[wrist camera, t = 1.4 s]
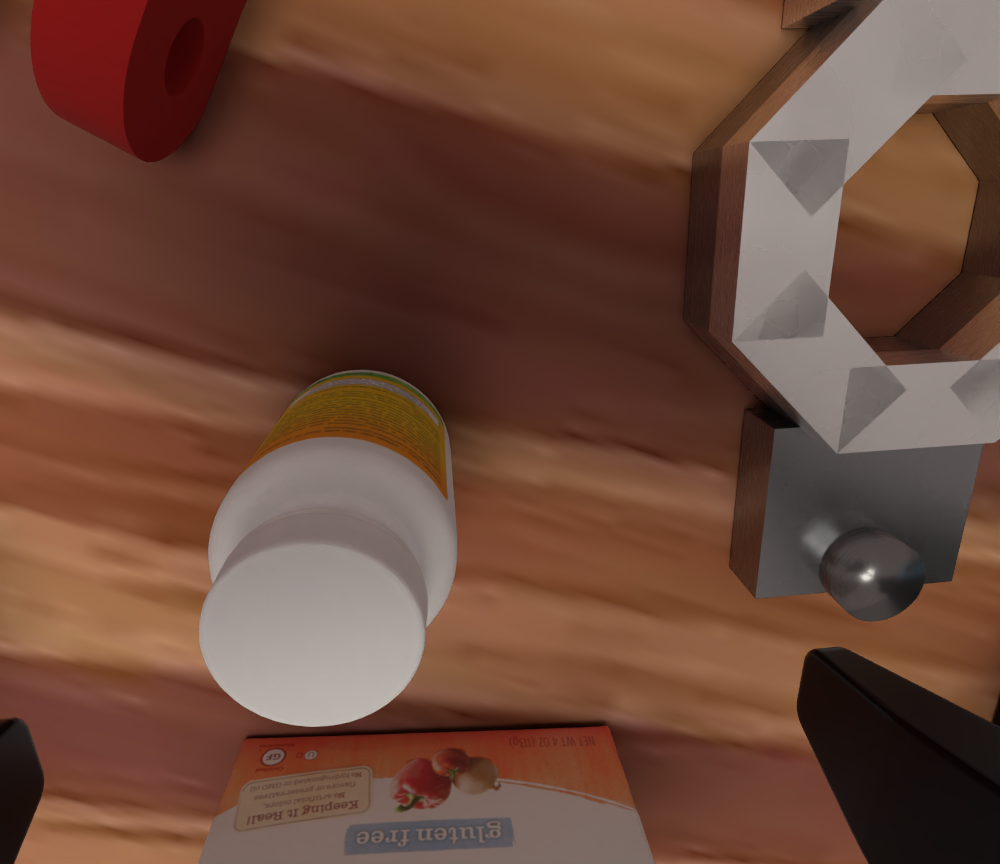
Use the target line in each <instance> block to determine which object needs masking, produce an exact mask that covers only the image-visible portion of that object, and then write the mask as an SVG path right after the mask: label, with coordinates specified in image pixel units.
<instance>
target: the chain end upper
mask: <svg viewBox="0 0 1000 864" xmlns="http://www.w3.org/2000/svg"><path fill="white" fill-rule="evenodd" d="M853 7H854V8H853ZM851 8H853V9H852V10H851V11H850V12H849V13H848V14H847V15H846V16H845V17H844V18H843V19H842V20H841V22H840V23H839V24H838V25H837V26H836V27H835V28H834V29H833V30H832V31H831V32H830V33H829V34H828V35H827V36H826V38H825V39H824V40H823V41H822V42H821V43H820V44H819V45H818V46H817V47H816V48H815V49H814V50H813V51H812V52H811V54H810V55H809V56H808V57H807V58H806V59H805V60H804V61H803V62H802V63H801V64H800V65H799V66H798V67H797V68H796V70H795V71H794V72H793V73H792V74H791V75H790V76H789V77H788V78H787V79H786V80H785V81H784V82H783V83H782V84H781V86H780V87H779V88H778V89H777V90H776V91H775V92H774V93H773V94H772V95H771V96H770V97H769V98H768V99H767V100H766V102H765V103H764V104H763V105H762V106H761V107H760V108H759V109H758V110H757V111H756V112H755V113H754V114H753V115H752V117H751V118H750V119H749V120H748V121H747V122H746V123H745V124H744V125H743V126H742V127H741V128H740V129H739V130H738V131H737V133H736V134H735V135H734V136H733V137H732V138H731V139H730V140H729V141H728V142H727V143H726V144H725V145H724V146H723V150H722V163H721V177H720V190H719V204H718V217H717V230H716V244H715V257H714V271H713V284H712V297H711V311H710V324H709V332H710V333H711V334H712V335H713V336H714V337H715V338H716V339H717V340H718V342H719V343H720V344H721V345H722V346H723V347H724V348H725V349H726V350H727V351H728V352H729V353H730V354H731V355H732V356H733V357H734V358H735V359H736V361H737V362H738V363H739V364H740V365H741V366H742V367H743V368H744V369H745V370H746V371H747V372H748V373H749V374H750V375H751V376H752V377H753V378H754V380H755V381H756V382H757V383H758V384H759V385H760V386H761V387H762V388H763V389H764V390H765V391H766V392H767V393H768V394H769V395H770V396H771V397H772V398H773V400H774V401H775V402H776V403H777V404H778V405H779V406H780V407H781V408H782V409H783V410H784V411H785V412H786V413H787V414H788V415H789V416H790V417H791V419H792V420H793V421H794V422H795V423H796V424H797V425H798V426H799V427H800V428H801V429H802V430H803V431H804V432H805V433H806V434H807V435H808V436H809V437H810V438H812V439H814V440H815V441H817V442H819V443H820V444H822V445H824V446H825V447H827V448H829V449H830V450H832V451H833V452H835V453H837V454H841V453H855V452H869V451H883V450H898V449H912V448H926V447H940V446H954V445H968V444H982V443H995V442H996V441H997V440H998V439H999V438H1000V294H999V295H998V296H997V297H996V298H995V299H993V300H992V301H991V302H990V303H989V304H988V305H987V306H986V307H985V308H984V309H983V310H981V311H980V312H979V313H978V314H977V315H976V316H975V317H974V318H973V319H972V320H971V321H970V322H968V323H967V324H966V325H965V326H964V327H963V328H962V329H961V330H960V331H959V332H958V333H956V334H955V335H954V336H953V337H952V338H951V339H950V340H949V341H948V342H947V343H946V344H944V345H943V346H942V347H941V348H940V349H931V350H913V351H896V352H879V353H875V352H874V351H873V350H872V348H871V347H870V346H869V345H868V344H867V342H866V341H865V340H864V339H863V338H862V337H861V335H860V334H859V333H858V332H857V331H856V329H855V328H854V327H853V326H852V325H851V324H850V322H849V321H848V320H847V319H846V318H845V316H844V315H843V314H842V313H841V312H840V311H839V309H838V308H837V307H836V306H835V305H834V304H833V302H832V301H831V300H830V299H829V298H828V296H829V288H830V281H831V273H832V266H833V259H834V251H835V244H836V236H837V229H838V221H839V214H840V206H841V199H842V192H843V185H844V184H845V183H846V182H847V181H848V180H849V179H850V178H851V177H852V176H853V175H854V174H855V173H856V172H857V171H858V170H859V169H860V168H861V167H862V166H863V165H864V164H865V163H866V162H867V161H868V160H869V159H870V158H871V157H872V156H873V155H874V154H875V153H876V152H877V150H878V149H879V148H880V147H881V146H882V145H883V144H884V143H885V142H886V141H887V140H888V139H889V138H890V137H891V136H892V135H893V134H894V133H895V132H896V131H897V130H898V129H899V128H900V127H901V126H902V125H903V124H904V123H905V122H906V121H907V120H908V119H909V118H910V117H911V116H912V115H913V114H914V113H915V112H916V111H917V110H918V109H919V108H920V107H921V106H922V105H923V104H942V103H983V102H988V103H989V105H990V106H991V108H992V109H993V111H994V112H995V114H996V115H997V117H998V118H999V120H1000V0H785V1H784V11H783V21H782V29H791V28H811V27H813V26H815V25H817V24H819V23H822V22H824V21H826V20H828V19H830V18H832V17H834V16H836V15H838V14H840V13H843V12H845V11H847V10H849V9H851Z"/></svg>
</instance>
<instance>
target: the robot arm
mask: <svg viewBox="0 0 1000 864" xmlns="http://www.w3.org/2000/svg"><path fill="white" fill-rule="evenodd" d="M797 712H798V717H799V720H800V723H801V726H802V728H803V730H804V732H805V734H806V736H807V738H808V740H809V743H810V745H811V747H812V749H813V751H814V753H815V755H816V757H817V759H818V762H819V764H820V766H821V768H822V770H823V772H824V774H825V776H826V778H827V781H828V783H829V785H830V787H831V789H832V791H833V793H834V795H835V797H836V800H837V802H838V804H839V806H840V808H841V810H842V812H843V814H844V816H845V819H846V821H847V823H848V825H849V827H850V829H851V831H852V833H853V835H854V837H855V839H856V841H857V843H858V845H859V847H860V849H861V851H862V853H863V854H864V856H865V858H866V860H867V861H868V863H869V864H1000V709H999V713H998V716H997V720H996V724H993V723H991V722H989V721H987V720H985V719H983V718H981V717H979V716H977V715H976V714H974V713H972V712H970V711H968V710H966V709H964V708H962V707H960V706H958V705H956V704H954V703H952V702H950V701H948V700H946V699H944V698H942V697H940V696H938V695H936V694H934V693H932V692H930V691H928V690H926V689H925V688H923V687H921V686H919V685H917V684H915V683H913V682H911V681H909V680H907V679H905V678H903V677H901V676H899V675H897V674H895V673H893V672H891V671H889V670H887V669H885V668H883V667H881V666H879V665H877V664H875V663H873V662H872V661H870V660H868V659H866V658H864V657H862V656H860V655H858V654H856V653H854V652H852V651H850V650H848V649H846V648H842V647H831V648H819V649H813V650H811V651H809V652H808V653H807V655H806V656H805V660H804V665H803V670H802V676H801V681H800V687H799V692H798V698H797ZM43 787H44V774H43V770H42V767H41V764H40V761H39V757H38V754H37V751H36V748H35V745H34V742H33V739H32V736H31V733H30V730H29V727H28V725H27V724H26V723H25V722H24V721H23V720H22V719H19V718H2V719H0V864H14V863H15V860H16V858H17V855H18V853H19V850H20V848H21V846H22V843H23V841H24V838H25V836H26V833H27V831H28V828H29V826H30V824H31V821H32V819H33V816H34V814H35V811H36V809H37V807H38V804H39V802H40V799H41V796H42V792H43Z"/></svg>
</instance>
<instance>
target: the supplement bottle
mask: <svg viewBox="0 0 1000 864" xmlns="http://www.w3.org/2000/svg"><path fill="white" fill-rule="evenodd" d="M457 550H458V539H457V524H456V511H455V498H454V484H453V468H452V456H451V450H450V442H449V436H448V433H447V429H446V426H445V423H444V421H443V419H442V417H441V415H440V414H439V412H438V411H437V409H436V408H435V406H434V405H433V404H432V402H431V401H430V400H429V399H428V398H427V397H426V396H425V395H424V394H423V393H422V392H421V391H420V390H418V389H417V388H416V387H414V386H413V385H412V384H410V383H408V382H407V381H405V380H403V379H401V378H398V377H396V376H394V375H391V374H388V373H384V372H379V371H372V370H350V371H343V372H339V373H335V374H332V375H329V376H327V377H324V378H322V379H320V380H318V381H316V382H315V383H313V384H312V385H310V386H309V387H307V388H306V389H305V390H304V391H302V392H301V393H300V394H299V395H298V396H297V397H296V398H295V399H294V400H293V402H292V403H291V404H290V405H289V406H288V408H287V409H286V410H285V412H284V413H283V415H282V416H281V418H280V419H279V421H278V422H277V423H276V425H275V426H274V428H273V429H272V431H271V432H270V434H269V435H268V436H267V438H266V439H265V441H264V442H263V443H262V445H261V446H260V447H259V449H258V450H257V452H256V453H255V455H254V456H253V457H252V459H251V460H250V461H249V463H248V464H247V465H246V467H245V468H244V469H243V471H242V472H241V473H240V475H239V476H238V478H237V479H236V480H235V482H234V483H233V484H232V486H231V488H230V489H229V491H228V493H227V495H226V496H225V498H224V500H223V502H222V504H221V506H220V507H219V510H218V512H217V514H216V516H215V519H214V522H213V526H212V529H211V533H210V538H209V547H208V559H209V568H210V574H211V579H212V583H213V585H212V587H211V589H210V591H209V592H208V594H207V597H206V599H205V602H204V604H203V607H202V612H201V616H200V622H199V641H200V647H201V651H202V654H203V658H204V661H205V663H206V665H207V667H208V669H209V671H210V673H211V674H212V676H213V677H214V679H215V680H216V682H217V683H218V684H219V686H220V687H221V688H222V689H223V690H224V691H225V692H226V693H227V694H229V695H230V696H231V697H232V698H233V699H234V700H235V701H237V702H238V703H239V704H241V705H242V706H244V707H245V708H247V709H249V710H251V711H253V712H255V713H257V714H258V715H260V716H263V717H266V718H268V719H271V720H274V721H277V722H281V723H286V724H291V725H297V726H308V727H318V726H331V725H338V724H343V723H347V722H351V721H354V720H357V719H360V718H363V717H365V716H367V715H369V714H371V713H373V712H375V711H377V710H379V709H380V708H382V707H383V706H385V705H386V704H388V703H389V702H390V701H392V700H393V699H394V698H395V697H396V696H397V695H398V694H400V693H401V692H402V691H403V690H404V688H405V687H406V686H407V684H408V683H409V682H410V680H411V679H412V677H413V676H414V674H415V672H416V670H417V668H418V666H419V664H420V662H421V659H422V655H423V652H424V647H425V639H426V627H427V626H428V625H429V624H430V623H431V622H432V621H433V619H434V618H435V617H436V616H437V614H438V613H439V611H440V610H441V608H442V606H443V605H444V603H445V601H446V599H447V597H448V595H449V592H450V589H451V587H452V583H453V580H454V576H455V571H456V563H457Z"/></svg>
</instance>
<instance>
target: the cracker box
mask: <svg viewBox="0 0 1000 864" xmlns="http://www.w3.org/2000/svg"><path fill="white" fill-rule="evenodd" d="M198 864H655V861H654V859H653V856H652V853H651V850H650V847H649V844H648V841H647V839H646V835H645V832H644V829H643V826H642V823H641V820H640V816H639V814H638V811H637V809H636V807H635V803H634V800H633V797H632V794H631V791H630V788H629V785H628V782H627V779H626V776H625V773H624V770H623V767H622V764H621V762H620V759H619V756H618V753H617V749H616V747H615V744H614V740H613V737H612V734H611V732H610V729H609V727H608V726H606V725H605V726H599V727H577V728H550V729H524V730H491V731H460V732H434V733H402V734H376V735H346V736H315V737H287V738H251V739H246V740H244V742H243V743H242V745H241V749H240V752H239V754H238V757H237V760H236V762H235V765H234V768H233V771H232V773H231V776H230V779H229V781H228V784H227V786H226V788H225V791H224V793H223V795H222V798H221V801H220V804H219V806H218V809H217V812H216V815H215V817H214V820H213V823H212V825H211V828H210V831H209V834H208V836H207V839H206V842H205V845H204V848H203V850H202V853H201V856H200V859H199V861H198Z"/></svg>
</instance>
